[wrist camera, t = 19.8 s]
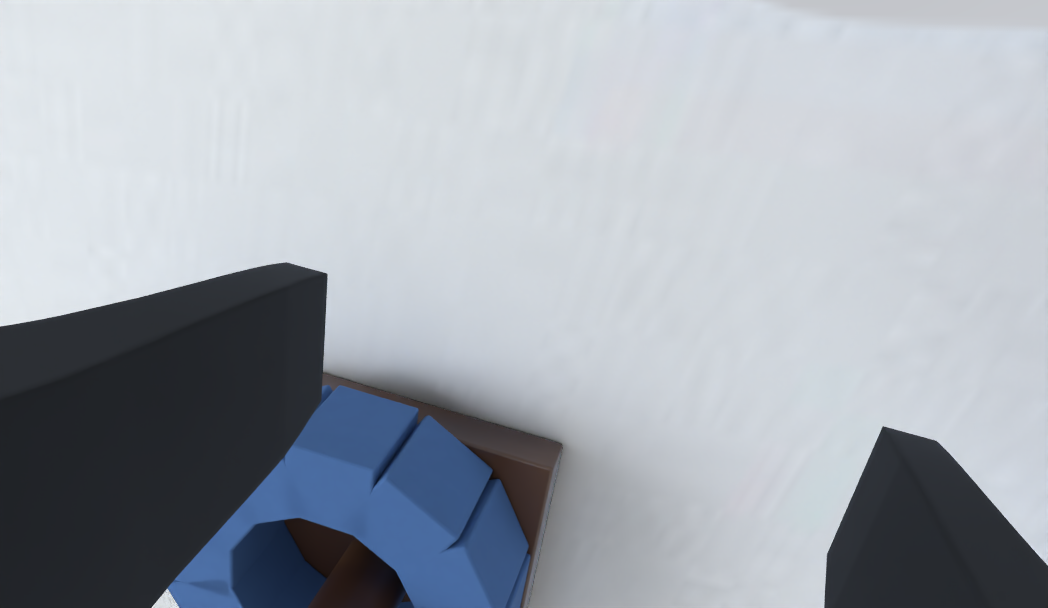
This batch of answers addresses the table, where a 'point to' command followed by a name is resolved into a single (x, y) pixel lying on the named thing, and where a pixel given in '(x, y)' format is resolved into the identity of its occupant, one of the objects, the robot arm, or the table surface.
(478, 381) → the table surface
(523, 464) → the peg stand
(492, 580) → the ring
